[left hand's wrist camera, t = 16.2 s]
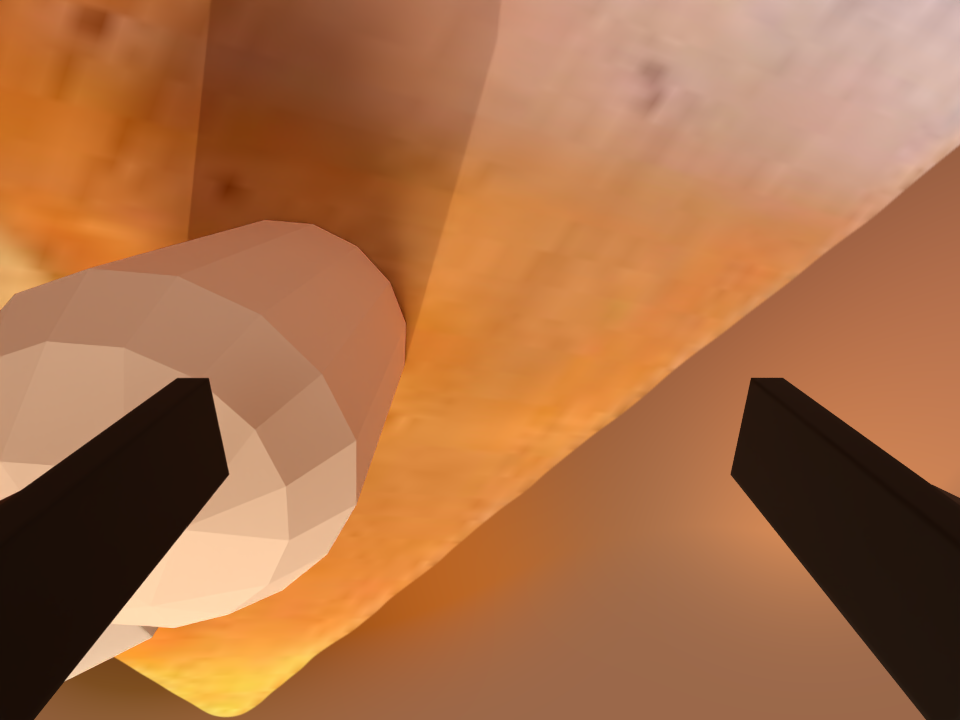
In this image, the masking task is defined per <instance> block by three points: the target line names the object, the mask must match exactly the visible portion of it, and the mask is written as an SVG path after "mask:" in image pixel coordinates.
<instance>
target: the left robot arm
mask: <svg viewBox="0 0 960 720" xmlns="http://www.w3.org/2000/svg"><path fill="white" fill-rule="evenodd" d="M228 476H229V470H228V466H227V461H226V456H225V451H224V447H223V442H222V437H221V433H220V428H219V423H218V419H217V414H216V409H215V404H214V400H213V395H212V390H211V386H210V381H209V378H176V379H175V380H174V381H172V382H171V383H169V384H168V385H167V386H165V387H164V388H162V389H161V390H160V391H158V392H157V393H155V394H154V395H153V396H151V397H150V398H149V399H147V400H146V401H144V402H143V403H142V404H140V405H139V406H137V407H136V408H135V409H133V410H132V411H130V412H129V413H128V414H126V415H125V416H123V417H122V418H121V419H119V420H118V421H117V422H115V423H114V424H112V425H111V426H110V427H108V428H107V429H105V430H104V431H103V432H101V433H100V434H98V435H97V436H96V437H94V438H93V439H91V440H90V441H89V442H87V443H86V444H85V445H83V446H82V447H80V448H79V449H78V450H76V451H75V452H73V453H72V454H71V455H69V456H68V457H66V458H65V459H64V460H62V461H61V462H59V463H58V464H57V465H55V466H54V467H52V468H51V469H50V470H48V471H47V472H46V473H44V474H43V475H41V476H40V477H39V478H37V479H36V480H34V481H33V482H32V483H30V484H29V485H27V486H26V487H25V488H23V489H22V490H20V491H18V492H16V493H14V494H12V495H10V496H8V497H6V498H4V499H2V500H0V720H34V719H35V718H36V716H37V715H38V714H39V713H40V711H41V710H42V709H43V708H44V706H45V705H46V704H47V703H48V701H49V700H50V699H51V698H52V696H53V695H54V694H55V693H56V691H57V690H58V689H59V687H60V686H61V685H62V684H63V683H64V681H65V680H66V679H67V678H68V676H69V675H70V674H71V672H72V671H73V670H74V669H75V667H76V666H77V665H78V664H79V662H80V661H81V660H82V659H83V657H84V656H85V655H86V654H87V652H88V651H89V650H90V649H91V647H92V646H93V645H94V644H95V642H96V641H97V640H98V639H99V637H100V636H101V635H102V634H103V632H104V631H105V630H106V629H107V627H108V626H109V625H110V624H111V622H112V621H113V620H114V619H115V617H116V616H117V615H118V614H119V612H120V611H121V610H122V609H123V607H124V606H125V605H126V604H127V602H128V601H129V600H130V599H131V597H132V596H133V595H134V594H135V592H136V591H137V590H138V588H139V587H140V586H141V585H142V583H143V582H144V581H145V580H146V578H147V577H148V576H149V575H150V573H151V572H152V571H153V570H154V568H155V567H156V566H157V565H158V563H159V562H160V561H161V560H162V558H163V557H164V556H165V555H166V553H167V552H168V551H169V550H170V548H171V547H172V546H173V545H174V543H175V542H176V541H177V540H178V538H179V537H180V536H181V535H182V533H183V532H184V531H185V530H186V528H187V527H188V526H189V525H190V523H191V522H192V521H193V520H194V518H195V517H196V516H197V515H198V513H199V512H200V511H201V509H202V508H203V507H204V506H205V504H206V503H207V502H208V501H209V499H210V498H211V497H212V496H213V494H214V493H215V492H216V491H217V489H218V488H219V487H220V486H221V484H222V483H223V482H224V481H225V479H226V478H227V477H228ZM731 476H732V477H733V478H734V479H735V481H736V482H737V483H738V484H739V486H740V487H741V488H742V489H743V491H744V492H745V493H746V494H747V496H748V497H749V498H750V499H751V501H752V502H753V503H754V504H755V506H756V507H757V508H758V509H759V511H760V512H761V513H762V515H763V516H764V517H765V518H766V520H767V521H768V522H769V523H770V525H771V526H772V527H773V528H774V530H775V531H776V532H777V533H778V535H779V536H780V537H781V538H782V540H783V541H784V542H785V543H786V545H787V546H788V547H789V548H790V550H791V551H792V552H793V553H794V555H795V556H796V557H797V558H798V560H799V561H800V562H801V563H802V565H803V566H804V567H805V568H806V570H807V571H808V572H809V573H810V575H811V576H812V577H813V578H814V580H815V581H816V582H817V583H818V585H819V586H820V587H821V588H822V590H823V591H824V592H825V593H826V595H827V596H828V597H829V598H830V600H831V601H832V602H833V603H834V605H835V606H836V607H837V608H838V610H839V611H840V612H841V614H842V615H843V616H844V617H845V619H846V620H847V621H848V622H849V624H850V625H851V626H852V627H853V629H854V630H855V631H856V632H857V634H858V635H859V636H860V637H861V639H862V640H863V641H864V642H865V644H866V645H867V646H868V647H869V649H870V650H871V651H872V652H873V654H874V655H875V656H876V657H877V659H878V660H879V661H880V662H881V664H882V665H883V666H884V667H885V669H886V670H887V671H888V672H889V674H890V675H891V676H892V678H893V679H894V680H895V681H896V683H897V684H898V685H899V686H900V688H901V689H902V690H903V691H904V692H905V694H906V695H907V696H908V698H909V699H910V700H911V701H912V703H913V704H914V705H915V706H916V708H917V709H918V710H919V711H920V713H921V714H922V715H923V716H924V718H925V719H926V720H960V498H959V497H957V496H955V495H952V494H950V493H948V492H946V491H944V490H942V489H940V488H938V487H936V486H934V485H931V484H930V483H928V482H927V481H926V480H924V479H923V478H921V477H920V476H919V475H917V474H916V473H914V472H913V471H912V470H910V469H909V468H908V467H906V466H905V465H903V464H902V463H901V462H899V461H898V460H896V459H895V458H893V457H892V456H891V455H889V454H888V453H887V452H885V451H884V450H882V449H881V448H880V447H878V446H877V445H875V444H874V443H873V442H871V441H870V440H869V439H867V438H866V437H864V436H863V435H862V434H860V433H859V432H857V431H856V430H855V429H853V428H852V427H850V426H849V425H848V424H846V423H845V422H843V421H842V420H841V419H839V418H838V417H837V416H835V415H834V414H832V413H831V412H830V411H828V410H827V409H825V408H824V407H823V406H821V405H820V404H818V403H817V402H816V401H814V400H813V399H811V398H810V397H809V396H807V395H806V394H805V393H803V392H802V391H800V390H799V389H798V388H796V387H795V386H793V385H792V384H791V383H789V382H788V381H786V380H785V379H784V378H751V381H750V386H749V390H748V395H747V400H746V404H745V409H744V414H743V419H742V423H741V428H740V433H739V437H738V442H737V447H736V451H735V456H734V461H733V466H732V470H731Z"/></svg>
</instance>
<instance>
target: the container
mask: <svg viewBox="0 0 960 720" xmlns="http://www.w3.org/2000/svg"><path fill="white" fill-rule="evenodd" d="M405 339H406V322H405V320H404V317H403V315H402V312H401V309H400V307H399V304H398V302H397V299H396V296H395V294H394V291H393V289H392V286H391V283H390V282H389V280H388V279H387V278H386V277H385V276H384V275H383V274H382V273H381V272H380V271H379V270H378V268H377V267H376V266H375V265H374V264H373V263H372V262H371V261H370V260H369V259H368V257H367V256H366V255H365V254H364V253H363V252H362V251H361V250H360V249H359V248H358V247H357V246H355V245H353V244H352V243H350V242H348V241H346V240H344V239H342V238H340V237H338V236H336V235H334V234H332V233H330V232H328V231H326V230H324V229H322V228H320V227H318V226H316V225H314V224H306V223H295V222H284V221H272V220H262V221H259V222H255V223H252V224H248V225H244V226H241V227H237V228H234V229H230V230H226V231H223V232H219V233H216V234H212V235H208V236H205V237H201V238H197V239H194V240H190V241H187V242H183V243H179V244H176V245H172V246H169V247H165V248H161V249H158V250H154V251H150V252H147V253H143V254H140V255H136V256H132V257H129V258H125V259H122V260H118V261H114V262H111V263H107V264H104V265H100V266H96V267H93V268H89V269H86V270H83V271H80V272H77V273H75V274H72V275H69V276H66V277H63V278H60V279H57V280H54V281H51V282H48V283H46V284H43V285H40V286H37V287H34V288H31V289H28V290H25V291H22V292H19V293H17V294H15V295H14V296H13V297H12V298H11V299H10V300H9V301H8V303H7V304H6V305H5V306H4V307H3V308H2V309H1V310H0V500H2V499H4V498H6V497H8V496H10V495H12V494H14V493H16V492H18V491H20V490H22V489H23V488H25V487H26V486H27V485H29V484H30V483H32V482H33V481H34V480H36V479H37V478H39V477H40V476H41V475H43V474H44V473H46V472H47V471H48V470H50V469H51V468H52V467H54V466H55V465H57V464H58V463H59V462H61V461H62V460H64V459H65V458H66V457H68V456H69V455H71V454H72V453H73V452H75V451H76V450H78V449H79V448H80V447H82V446H83V445H85V444H86V443H87V442H89V441H90V440H91V439H93V438H94V437H96V436H97V435H98V434H100V433H101V432H103V431H104V430H105V429H107V428H108V427H110V426H111V425H112V424H114V423H115V422H117V421H118V420H119V419H121V418H122V417H123V416H125V415H126V414H128V413H129V412H130V411H132V410H133V409H135V408H136V407H137V406H139V405H140V404H142V403H143V402H144V401H146V400H147V399H149V398H150V397H151V396H153V395H154V394H155V393H157V392H158V391H160V390H161V389H162V388H164V387H165V386H167V385H168V384H169V383H171V382H172V381H174V380H175V379H176V378H209V381H210V386H211V390H212V395H213V400H214V404H215V409H216V414H217V419H218V423H219V428H220V433H221V437H222V442H223V447H224V451H225V456H226V461H227V466H228V470H229V476H228V477H227V478H226V479H225V481H224V482H223V483H222V484H221V486H220V487H219V488H218V489H217V491H216V492H215V493H214V494H213V496H212V497H211V498H210V499H209V501H208V502H207V503H206V504H205V506H204V507H203V508H202V509H201V511H200V512H199V513H198V515H197V516H196V517H195V518H194V520H193V521H192V522H191V523H190V525H189V526H188V527H187V528H186V530H185V531H184V532H183V533H182V535H181V536H180V537H179V538H178V540H177V541H176V542H175V543H174V545H173V546H172V547H171V548H170V550H169V551H168V552H167V553H166V555H165V556H164V557H163V558H162V560H161V561H160V562H159V563H158V565H157V566H156V567H155V568H154V570H153V571H152V572H151V573H150V575H149V576H148V577H147V578H146V580H145V581H144V582H143V583H142V585H141V586H140V587H139V588H138V590H137V591H136V592H135V594H134V595H133V596H132V597H131V599H130V600H129V601H128V602H127V604H126V605H125V606H124V607H123V609H122V610H121V611H120V612H119V614H118V615H117V616H116V617H115V619H114V620H113V621H112V622H111V623H112V624H122V625H137V626H153V627H169V628H176V627H180V626H184V625H188V624H192V623H196V622H200V621H204V620H208V619H212V618H216V617H220V616H224V615H228V614H230V613H232V612H234V611H237V610H239V609H241V608H244V607H246V606H248V605H250V604H253V603H255V602H257V601H259V600H262V599H264V598H266V597H268V596H271V595H273V594H275V593H277V592H280V591H282V590H283V589H285V588H286V587H287V586H288V585H289V584H291V583H292V582H293V581H294V580H296V579H297V578H298V577H299V576H301V575H302V574H303V573H304V572H306V571H307V570H308V569H309V568H311V567H312V566H313V565H314V564H316V563H317V562H318V561H319V560H321V559H322V558H323V557H324V556H326V555H327V554H328V552H329V550H330V548H331V547H332V545H333V543H334V542H335V540H336V538H337V537H338V535H339V533H340V531H341V530H342V528H343V526H344V525H345V523H346V521H347V520H348V518H349V516H350V514H351V513H352V511H353V509H354V508H355V506H356V504H357V501H358V498H359V495H360V492H361V490H362V487H363V484H364V481H365V478H366V475H367V472H368V469H369V466H370V464H371V461H372V458H373V455H374V452H375V449H376V446H377V443H378V440H379V437H380V435H381V432H382V429H383V426H384V423H385V420H386V417H387V414H388V411H389V408H390V406H391V403H392V400H393V397H394V394H395V391H396V388H397V385H398V382H399V380H400V377H401V374H402V371H403V368H404V365H405Z"/></svg>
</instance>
